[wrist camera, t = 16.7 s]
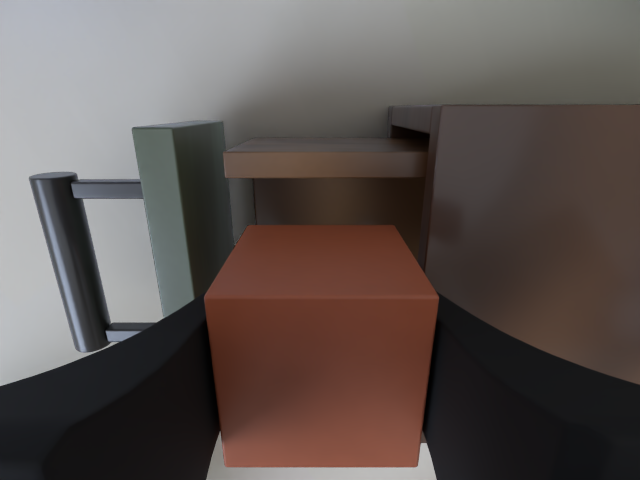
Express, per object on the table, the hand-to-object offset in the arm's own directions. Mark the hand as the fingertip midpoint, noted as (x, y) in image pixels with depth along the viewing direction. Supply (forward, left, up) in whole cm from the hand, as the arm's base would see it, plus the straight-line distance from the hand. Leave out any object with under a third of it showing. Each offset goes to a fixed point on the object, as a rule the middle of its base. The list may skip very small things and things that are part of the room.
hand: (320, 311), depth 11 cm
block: (0, 0, -1) cm, 1 cm away
